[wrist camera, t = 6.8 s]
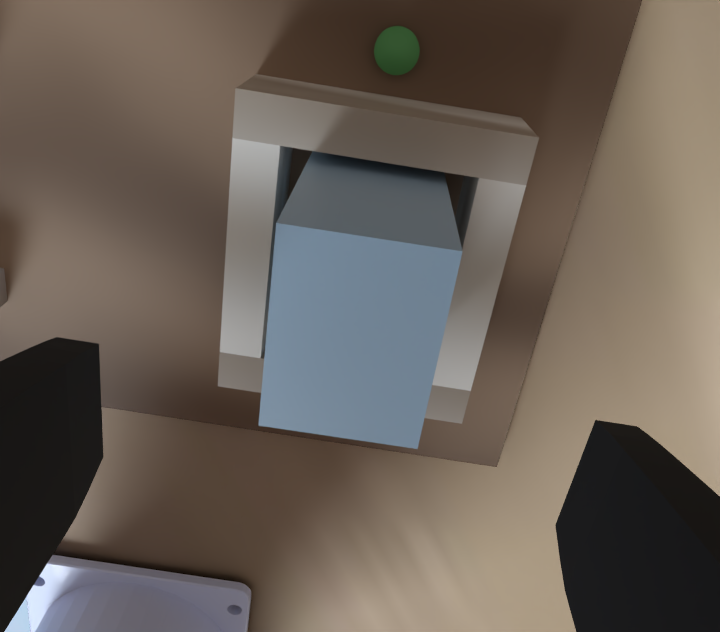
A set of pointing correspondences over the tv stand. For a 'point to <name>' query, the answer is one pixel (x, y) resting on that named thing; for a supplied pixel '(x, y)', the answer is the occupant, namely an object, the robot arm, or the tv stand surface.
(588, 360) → the tv stand surface
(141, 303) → the brown tray
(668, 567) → the robot arm
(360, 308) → the plug
